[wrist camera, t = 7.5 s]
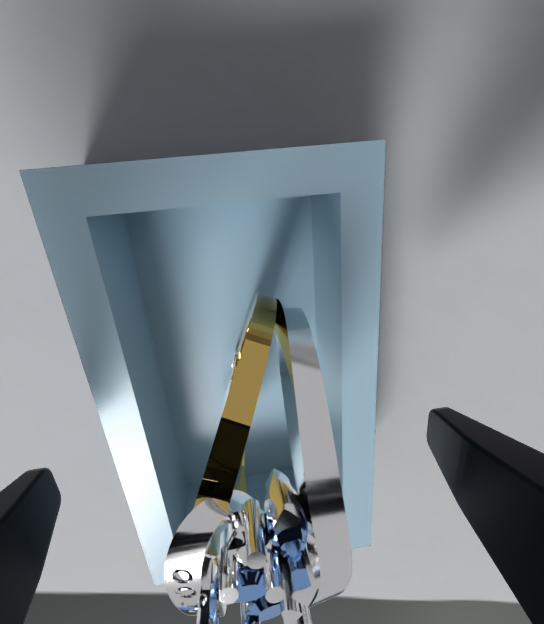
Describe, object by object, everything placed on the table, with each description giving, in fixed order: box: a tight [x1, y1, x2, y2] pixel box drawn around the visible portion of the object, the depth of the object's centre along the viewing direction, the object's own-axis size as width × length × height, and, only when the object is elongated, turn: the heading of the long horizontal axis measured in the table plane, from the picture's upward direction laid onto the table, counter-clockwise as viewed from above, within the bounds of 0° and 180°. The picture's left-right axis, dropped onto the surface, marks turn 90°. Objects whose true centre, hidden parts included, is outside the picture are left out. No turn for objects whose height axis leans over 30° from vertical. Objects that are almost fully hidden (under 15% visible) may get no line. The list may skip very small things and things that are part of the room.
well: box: [19, 139, 386, 585], centre depth 12 cm, size 8×13×4 cm, turn 5°
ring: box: [165, 294, 352, 624], centre depth 9 cm, size 7×3×8 cm, turn 164°
